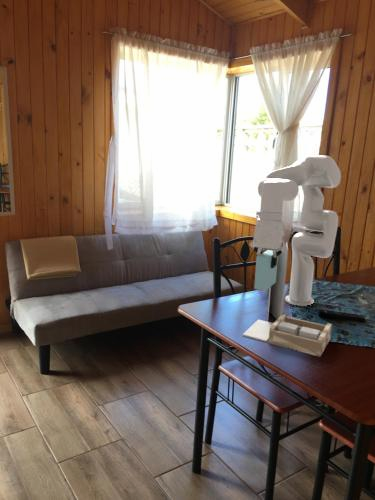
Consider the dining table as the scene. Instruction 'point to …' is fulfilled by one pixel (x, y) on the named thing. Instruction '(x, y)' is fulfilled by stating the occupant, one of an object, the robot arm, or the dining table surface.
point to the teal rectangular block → (265, 271)
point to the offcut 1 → (288, 328)
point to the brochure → (278, 287)
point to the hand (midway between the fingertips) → (266, 265)
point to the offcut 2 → (309, 333)
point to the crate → (296, 341)
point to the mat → (259, 330)
